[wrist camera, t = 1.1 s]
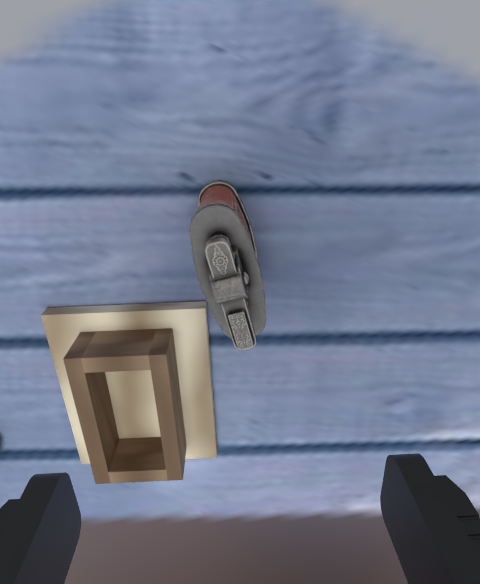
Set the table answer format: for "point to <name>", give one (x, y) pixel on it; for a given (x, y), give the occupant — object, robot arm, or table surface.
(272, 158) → the table surface
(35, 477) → the robot arm
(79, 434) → the wooden box with base
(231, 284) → the lighter
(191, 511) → the table surface
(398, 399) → the table surface
